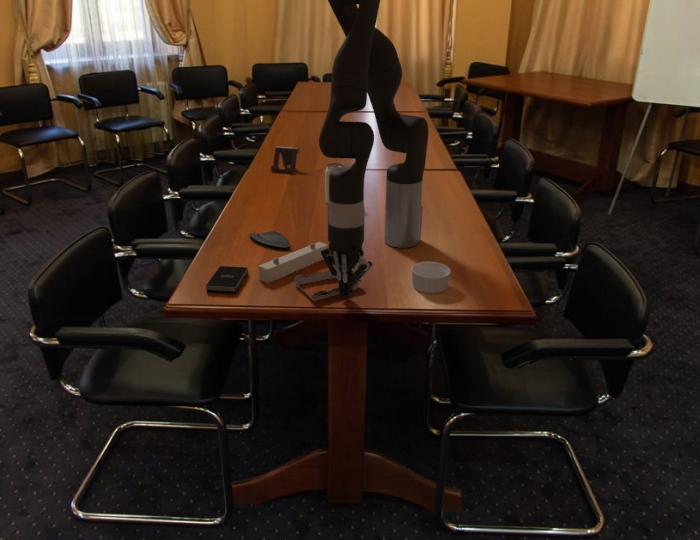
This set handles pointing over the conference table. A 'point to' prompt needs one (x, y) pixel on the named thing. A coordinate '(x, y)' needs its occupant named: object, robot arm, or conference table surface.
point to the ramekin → (430, 277)
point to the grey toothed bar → (291, 262)
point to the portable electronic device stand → (285, 159)
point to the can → (327, 172)
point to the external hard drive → (227, 279)
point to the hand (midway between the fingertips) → (345, 295)
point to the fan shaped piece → (271, 240)
